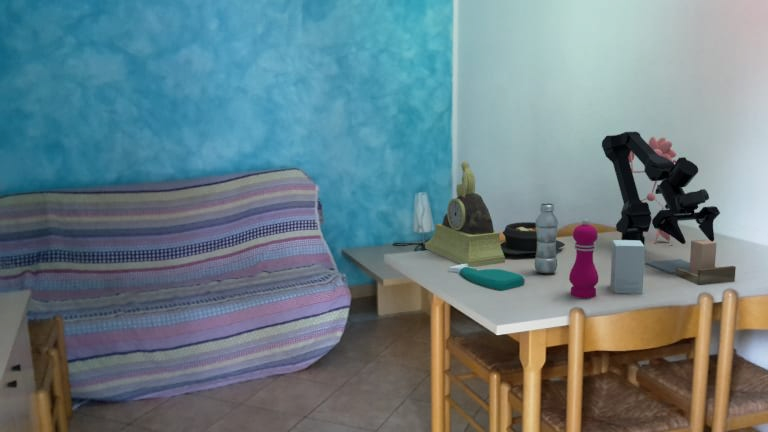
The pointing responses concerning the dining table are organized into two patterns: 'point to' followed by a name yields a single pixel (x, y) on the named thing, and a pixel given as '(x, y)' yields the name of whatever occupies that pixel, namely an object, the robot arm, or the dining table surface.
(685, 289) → the dining table surface
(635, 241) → the supplement box
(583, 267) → the pepper mill
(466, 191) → the decorative clock
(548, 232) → the plastic bottle
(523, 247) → the casserole
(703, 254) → the peach block
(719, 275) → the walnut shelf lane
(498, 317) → the dining table surface
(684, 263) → the slate rubber mat
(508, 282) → the spray bottle
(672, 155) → the pink artificial flower
